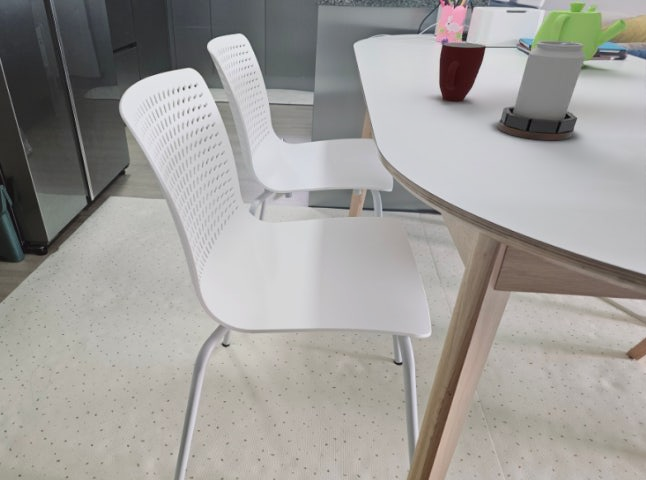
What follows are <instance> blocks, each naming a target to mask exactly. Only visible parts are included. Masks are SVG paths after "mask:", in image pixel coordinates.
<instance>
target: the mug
mask: <svg viewBox="0 0 646 480" xmlns="http://www.w3.org/2000/svg"><path fill="white" fill-rule="evenodd" d="M486 47H487V45H485V44H481V43H470V42H445V43H442V45H441V49H440V55H439V66H438V67H439V71H438V73H439V74H438V84H439V90H440V93H441V97H442V99H443V100H446V101H450V102H451V101H452V102H461V101H463V100H465V98H466V97H467V95H468V94H469V93H470V92H471V90H472V88H473V86H474V84H475V82H476V79H477V77H478V74H479V71H480V69H481V66H482V65H483V61H484V58H485V53H486Z"/></svg>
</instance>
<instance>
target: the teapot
mask: <svg viewBox="0 0 646 480" xmlns="http://www.w3.org/2000/svg"><path fill="white" fill-rule="evenodd" d="M586 4H587V3H586V2H583V1H573V2H570V5H569V7H570V10H551V11H550V12H548V14H547V15H546V16H545V18H544V20H543V22H542V23H541V25H540V26H539V28H538V30H537V31H536V34H535V36H534V38H533V40H532V43H531V46H530V52H531V51H532V50H533V49H534V48H535V47H537V42H539V41H565V42H576V43H581V44H583V45H584V46H583V47H582V51H583V53H584V55H585V59H584V61H583V62H587V61H590V60H591V59H592V58H593V57H594V56H595V55H596V53H597V52H598V50H599V48H600V47H601V46H603V45H604V44H606V43H607V42H609V41H610V40H611V39H613V38H615V37H616V36H617V35H619V34H620V33H622V32H624V31H625V30H627V29H628V25H627V24H626V22H625V21H624V20H623V19H619V20H617V21H616V22H614V23H613V24H612V25H610V26H609V27H607V28H605V30H604V31H603V32H602V28H603V26H602V24H603V23H602V22H603V21H602V19H603V18H602V13H601V11H596V9H597V8H598V4H592V5H590V6H589V7H588V8H587V9H586V10H583V9H584V7H585V6H586ZM582 67H583V68H584V67H585V65H584V63H583V64H582ZM582 67H581V68H582Z"/></svg>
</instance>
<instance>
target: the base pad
mask: <svg viewBox="0 0 646 480" xmlns="http://www.w3.org/2000/svg"><path fill="white" fill-rule="evenodd" d="M514 106H515V105H513V106H506V107H504V108H503V109H502V112H501V116H500V119H499V120H498V124H497V129H498V130H499V131H501V132H502V133H505V134H507V135H510V136H514V137H519V138H523V139H528V140H529V139H530V140H535V141H536V140H537V141H563V140H568V139H570V138H572V137H573V135H574V132H575V131H574V130H575V126H576V124H577V121H578V117H577V116H575V114H574V113H573V112H569V111H567V112H566V115H565V118H564V119H563V120H544V119H531V118H527V117H523V116H519V115H515V114H513V110H514Z"/></svg>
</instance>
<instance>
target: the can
mask: <svg viewBox="0 0 646 480" xmlns="http://www.w3.org/2000/svg"><path fill="white" fill-rule="evenodd" d="M583 46H584V45H583V44H581V43H576V42H565V41H539V42H537V47H535V48H534V49H533V50H532V51H531V50H530V51H529V52H528V56H527V59H526V64H525V67H524V70H523V74H522V78H521V81H520V84H519V89H518V92H517V96H516V98H515V99H516V100H515V103H514V105H513V106H514V110H513V114H515V115H519V116H523V117H527V118H531V119H544V120H563V119H564V118H565V115H566V112H568V109H569V106H570V103H571V100H572V96H573V95H574V91H575V88H576V85H577V82H578V80H579V76H580V73H581V71H582V64H584V62H585V61H584V59H585V55H584V53H583V51H582V47H583Z"/></svg>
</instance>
